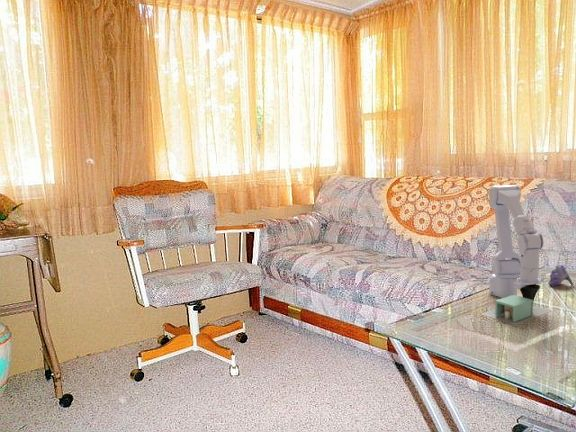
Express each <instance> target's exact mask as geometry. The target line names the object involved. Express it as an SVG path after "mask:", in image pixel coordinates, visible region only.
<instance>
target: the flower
mask: <svg viewBox="0 0 576 432" xmlns="http://www.w3.org/2000/svg"><path fill="white" fill-rule="evenodd" d="M549 277H550V279H549V281H548V283H547V285H549V286H551V285H552V286H551V287H556V286H558V285H560V284H561V283H562V282H563V281H568V283H569V284H571V285H573V286H574V283H573V281H572V279H571V278H570V274H569V273H568V272H567V269H566V268H565V266H564V265H559V264H558V265H556V266H555V268H554V269H553V270H552V271H551V273H550V274H549ZM571 285H570V286H571Z"/></svg>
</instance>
